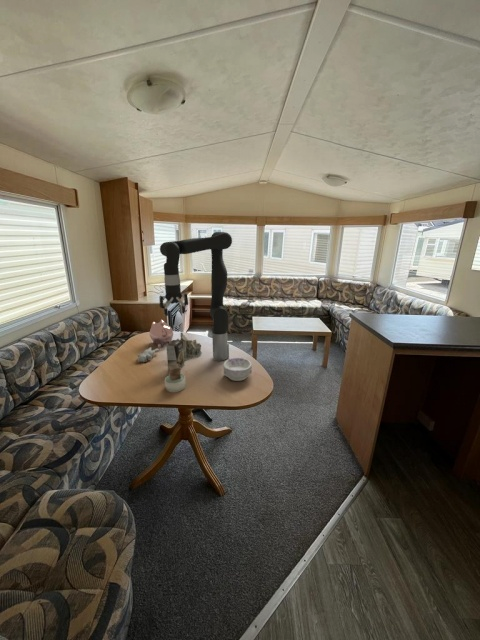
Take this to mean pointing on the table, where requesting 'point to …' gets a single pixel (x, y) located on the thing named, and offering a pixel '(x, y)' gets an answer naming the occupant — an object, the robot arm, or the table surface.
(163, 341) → the piggy bank
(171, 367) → the walnut block
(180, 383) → the ceramic bowl
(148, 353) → the bunny figurine
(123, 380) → the table surface
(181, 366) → the coffee box
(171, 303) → the robot arm
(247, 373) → the white purple floral bowl
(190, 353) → the ceramic cottage
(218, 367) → the table surface
